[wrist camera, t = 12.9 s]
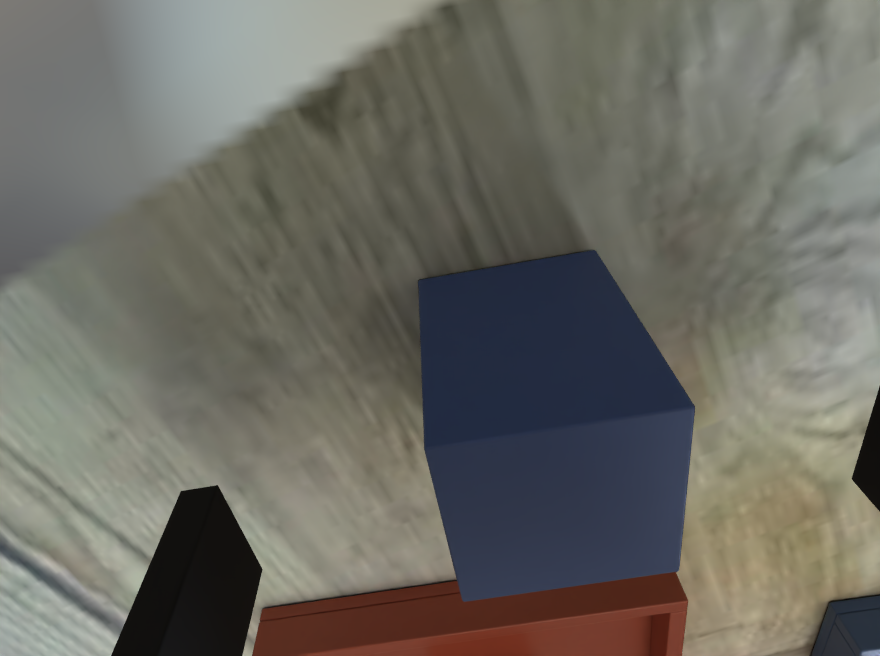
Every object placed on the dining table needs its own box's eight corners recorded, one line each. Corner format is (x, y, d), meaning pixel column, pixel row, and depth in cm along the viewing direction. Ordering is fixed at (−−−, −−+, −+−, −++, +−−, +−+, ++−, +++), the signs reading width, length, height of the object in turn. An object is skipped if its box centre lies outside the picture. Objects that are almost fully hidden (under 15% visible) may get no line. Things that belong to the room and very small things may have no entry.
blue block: (417, 278, 15) (423, 449, 10) (595, 248, 14) (696, 406, 9) (446, 412, 17) (462, 603, 12) (598, 387, 17) (680, 572, 12)
